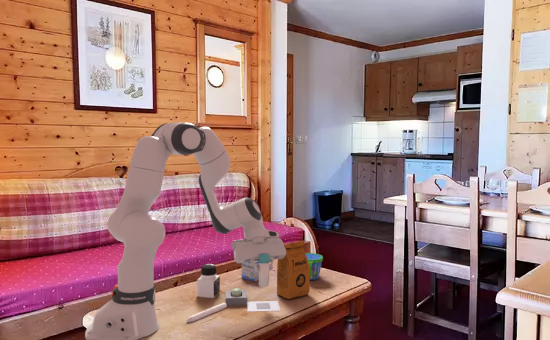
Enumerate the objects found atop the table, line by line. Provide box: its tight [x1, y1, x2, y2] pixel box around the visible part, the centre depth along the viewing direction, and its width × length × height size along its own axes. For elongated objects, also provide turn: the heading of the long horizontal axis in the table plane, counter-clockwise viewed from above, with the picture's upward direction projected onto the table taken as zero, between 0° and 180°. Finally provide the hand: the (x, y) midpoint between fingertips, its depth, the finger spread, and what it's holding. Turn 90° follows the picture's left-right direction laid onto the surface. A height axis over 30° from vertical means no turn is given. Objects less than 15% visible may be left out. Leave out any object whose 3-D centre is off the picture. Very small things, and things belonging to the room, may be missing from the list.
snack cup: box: [305, 252, 324, 281], centre depth 190 cm, size 16×10×10 cm
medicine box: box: [241, 261, 259, 282], centre depth 188 cm, size 8×4×9 cm, turn 55°
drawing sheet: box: [246, 300, 281, 313], centre depth 158 cm, size 12×9×1 cm
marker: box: [186, 302, 228, 323], centre depth 150 cm, size 18×2×2 cm, turn 140°
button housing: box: [225, 289, 248, 307], centre depth 162 cm, size 8×8×3 cm
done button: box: [231, 287, 242, 296], centre depth 162 cm, size 4×4×3 cm
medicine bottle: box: [196, 263, 221, 299], centre depth 169 cm, size 7×7×12 cm
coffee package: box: [276, 240, 311, 300], centre depth 169 cm, size 10×12×22 cm
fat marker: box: [258, 253, 271, 288], centre depth 157 cm, size 4×4×12 cm
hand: (264, 270), depth 156 cm, fingers closed on fat marker, 4 cm apart
